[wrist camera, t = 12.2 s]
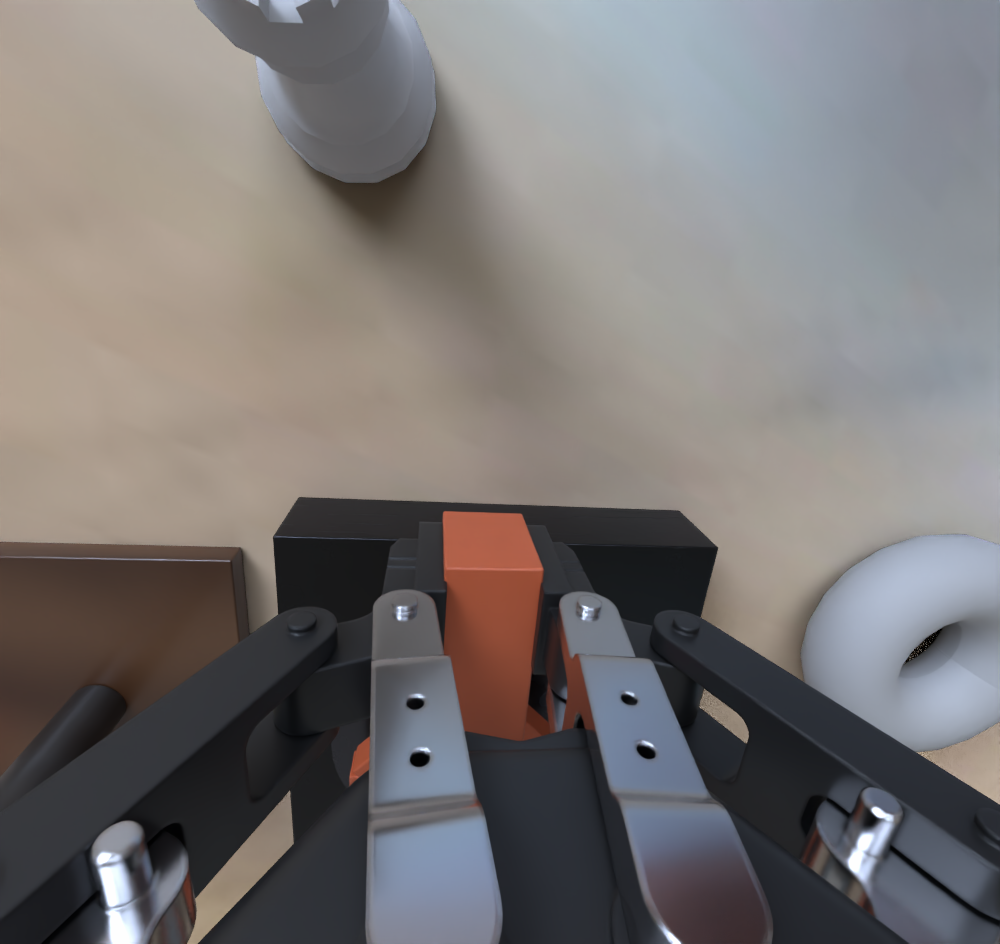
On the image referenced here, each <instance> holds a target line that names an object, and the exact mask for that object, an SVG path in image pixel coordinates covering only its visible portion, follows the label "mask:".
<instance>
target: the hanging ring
mask: <svg viewBox="0 0 1000 944" xmlns="http://www.w3.org/2000/svg"><path fill="white" fill-rule="evenodd" d="M442 522H443V562H444V581H446V582H447V602H446V619H445V635H444V654H449V655H450V658H451V662H452V667H453V673H454V678H455V684H456V689H457V694H458V700H459V705H460V710H461V716H462V721H463V727H464V731H468V732H473V733H479V734H484V735H489V736H495V737H500V738H505V739H510V740H516V741H524V740H528V739H532V738H536V737H540V736H543V735H547V734H550V728H549V722H547V721H546V720H545V719H544V718H543V717H542V716H541V715H540V714H538V713H537V712H536V711H535V710H534V709H533V708H532V707H531V706H529V705H528V700H529V692H530V683H531V675H532V668H531V660H532V652H533V644H534V635H535V627H536V619H537V611H538V602H539V594H540V586H541V583H542V582H543V576H544V569H543V566H542V564H541V561H540V559H539V556H538V553H537V551H536V548H535V546H534V543H533V541H532V538H531V536H530V533H529V531H528V528H527V526H526V523H525V521H524V518H523V516H522V514H517V513H485V512H452V511H445V512H443V521H442ZM369 752H370V737H368V738H367V739H366V740H364V741H363V742H362V743H361V744H359V745H358V747H357V751H355V752H354V755H353V760H352V766H351V771H350V777H349V786H350V785H351V784H352V783H353V782H354V781H355V780H357V779H358V778H359V777H360V776H361V775H363V774H364V773H365V772H366V771H368V770H369Z"/></svg>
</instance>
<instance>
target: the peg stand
mask: <svg viewBox="0 0 1000 944" xmlns="http://www.w3.org/2000/svg"><path fill="white" fill-rule="evenodd" d="M247 636H249V628H248V617H247V606H246V595H245V584H244V573H243V562H242V551H241V548H240V547H198V546H154V545H109V544H64V543H20V542H0V812H1V811H2V810H4V809H5V808H7V807H8V806H9V805H11V804H12V803H14V802H15V801H16V800H18V799H19V798H21V797H22V796H23V795H25V794H26V793H28V792H29V791H30V790H32V789H33V788H35V787H36V786H38V785H39V784H40V783H42V782H43V781H45V780H46V779H47V778H49V777H50V776H52V775H53V774H54V773H56V772H57V771H59V770H60V769H61V768H63V767H64V766H66V765H67V764H68V763H70V762H71V761H73V760H74V759H76V758H77V757H78V756H80V755H81V754H83V753H84V752H85V751H87V750H88V749H90V748H91V747H92V746H94V745H95V744H97V743H98V742H99V741H101V740H102V739H104V738H105V737H107V736H108V735H109V734H111V733H112V732H114V731H115V730H116V729H118V728H119V727H121V726H122V725H123V724H125V723H126V722H128V721H129V720H130V719H132V718H133V717H135V716H136V715H138V714H139V713H140V712H142V711H143V710H145V709H146V708H147V707H149V706H150V705H152V704H153V703H154V702H156V701H157V700H159V699H160V698H161V697H163V696H164V695H166V694H167V693H169V692H170V691H171V690H173V689H174V688H176V687H177V686H178V685H180V684H181V683H183V682H184V681H185V680H187V679H188V678H190V677H191V676H192V675H194V674H195V673H197V672H198V671H199V670H201V669H202V668H204V667H205V666H207V665H208V664H209V663H211V662H212V661H214V660H215V659H216V658H218V657H219V656H221V655H222V654H223V653H225V652H226V651H228V650H229V649H230V648H232V647H233V646H235V645H236V644H238V643H239V642H240V641H242V640H243V639H245V638H246V637H247Z"/></svg>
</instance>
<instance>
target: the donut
mask: <svg viewBox="0 0 1000 944" xmlns="http://www.w3.org/2000/svg"><path fill="white" fill-rule="evenodd" d="M941 628H943V629H942V630H941V632H940V633H939V635H938V636H937V638H936V639H935V641H934V642H933V643H932V644H931V645H930V646H929V647H928V648H927V649H926V650H925V651H924V652H923V653H921V654H920V655H919V656H917V657H915V658H914V659H912V660H910V661H909V662H907V663H905V664H904V662H905V661H906V660H907V658H908V657H909V655H910V654H911V652H912V651H913V650H914V649H915V648H916V647H917V646H918V645H919V644H920V643H921V642H922V641H923V640H924V639H925V638H927V637H928V636H929V635H931V634H933V633H934V632H936V631H938V630H939V629H941ZM800 654H801V662H802V670H803V678H804V682H805V683H806V684H808V685H809V686H811V687H812V688H814V689H816V690H817V691H819V692H820V693H822V694H824V695H825V696H827V697H828V698H830V699H832V700H833V701H835V702H836V703H838V704H840V705H841V706H843V707H844V708H846V709H848V710H849V711H851V712H852V713H854V714H856V715H857V716H859V717H860V718H862V719H864V720H865V721H867V722H868V723H870V724H872V725H873V726H875V727H876V728H878V729H880V730H881V731H883V732H884V733H886V734H888V735H889V736H891V737H892V738H894V739H896V740H897V741H899V742H900V743H902V744H903V745H905V746H907V747H908V748H910V749H911V750H913V751H915V752H923V751H933V750H939V749H942V748H945V747H948V746H951V745H954V744H957V743H960V742H963V741H966V740H969V739H970V738H972V737H974V736H975V735H977V734H979V733H981V732H982V731H984V730H986V729H988V728H989V727H991V726H993V725H995V724H996V723H998V722H1000V545H999V544H996V543H992V542H989V541H986V540H983V539H979V538H976V537H973V536H969V535H966V534H946V535H928V536H917V537H914V538H911V539H908V540H905V541H902V542H899V543H897V544H894V545H891V546H888V547H885V548H882V549H880V550H878V551H876V552H875V553H873V554H872V555H870V556H869V557H867V558H865V559H864V560H862V561H861V562H859V563H858V564H856V565H854V566H853V567H851V568H850V569H848V570H847V571H846V572H845V573H844V574H843V575H842V576H841V577H840V578H839V579H838V580H837V581H836V582H835V583H834V585H833V586H832V587H831V588H830V589H829V590H828V591H827V592H826V593H825V594H824V596H823V597H822V599H821V601H820V602H819V604H818V606H817V608H816V609H815V611H814V613H813V614H812V616H811V618H810V619H809V622H808V624H807V628H806V632H805V636H804V640H803V645H802V649H801V653H800Z"/></svg>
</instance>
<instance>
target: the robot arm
mask: <svg viewBox="0 0 1000 944" xmlns="http://www.w3.org/2000/svg"><path fill="white" fill-rule="evenodd" d="M526 526H527V528H528V531H529V533H530V536H531V538H532V541H533V543H534V546H535V548H536V551H537V553H538V556H539V559H540V561H541V564H542V566H543V569H544V576H543V582H542V583H541V586H540V594H539V602H538V611H537V619H536V627H535V635H534V644H533V652H532V660H531V668H532V672H533V675H547V678H548V684H547V691H546V704H547V712H548V720H549V728H550V734H547V735H543V736H540V737H536V738H532V739H528V740H524V741H516V740H510V739H505V738H500V737H495V736H489V735H484V734H479V733H473V732H468V731H464V727H463V721H462V716H461V710H460V705H459V700H458V694H457V689H456V684H455V678H454V673H453V667H452V662H451V658H450V655H449V654H444V635H445V619H446V602H447V582H446V581H444V562H443V522H419V534H418V539H408V538H399V539H398V540H397V541H396V542H395V543H394V544H393V545H392V546H391V547H390V552H389V558H388V563H387V569H386V575H385V580H384V586H383V592H382V596H380V597H379V598H378V599H377V600H376V601H375V603H374V605H373V611H372V612H371V613H369V614H368V615H366V616H363V617H361V618H358V619H355V620H351V621H346V622H341V623H337V619H336V617H335V615H334V614H333V613H331V612H330V611H328V610H326V609H323V608H320V607H299V608H294V609H290V610H287V611H285V612H283V613H281V614H279V615H277V616H276V617H274V618H273V619H271V620H270V621H269V622H267V623H266V624H264V625H263V626H261V627H260V628H259V629H257V630H256V631H254V632H253V633H252V634H250V635H249V636H247V637H246V638H245V639H243V640H242V641H240V642H239V643H238V644H236V645H235V646H233V647H232V648H230V649H229V650H228V651H226V652H225V653H223V654H222V655H221V656H219V657H218V658H216V659H215V660H214V661H212V662H211V663H209V664H208V665H207V666H205V667H204V668H202V669H201V670H199V671H198V672H197V673H195V674H194V675H192V676H191V677H190V678H188V679H187V680H185V681H184V682H183V683H181V684H180V685H178V686H177V687H176V688H174V689H173V690H171V691H170V692H169V693H167V694H166V695H164V696H163V697H161V698H160V699H159V700H157V701H156V702H154V703H153V704H152V705H150V706H149V707H147V708H146V709H145V710H143V711H142V712H140V713H139V714H138V715H136V716H135V717H133V718H132V719H130V720H129V721H128V722H126V723H125V724H123V725H122V726H121V727H119V728H118V729H116V730H115V731H114V732H112V733H111V734H109V735H108V736H107V737H105V738H104V739H102V740H101V741H99V742H98V743H97V744H95V745H94V746H92V747H91V748H90V749H88V750H87V751H85V752H84V753H83V754H81V755H80V756H78V757H77V758H76V759H74V760H73V761H71V762H70V763H68V764H67V765H66V766H64V767H63V768H61V769H60V770H59V771H57V772H56V773H54V774H53V775H52V776H50V777H49V778H47V779H46V780H45V781H43V782H42V783H40V784H39V785H38V786H36V787H35V788H33V789H32V790H30V791H29V792H28V793H26V794H25V795H23V796H22V797H21V798H19V799H18V800H16V801H15V802H14V803H12V804H11V805H9V806H8V807H7V808H5V809H4V810H2V811H1V812H0V944H187V942H188V940H189V938H190V936H191V934H192V931H193V928H194V925H195V920H196V911H197V909H196V901H195V898H196V897H197V896H198V895H199V894H200V892H201V891H202V890H203V889H204V888H205V887H206V886H207V884H208V883H209V882H210V881H211V880H212V879H213V878H214V876H215V875H216V874H217V873H218V872H219V871H220V870H221V868H222V867H223V866H224V865H225V864H226V863H227V862H228V860H229V859H230V858H231V857H232V856H233V855H234V853H235V852H236V851H237V850H238V849H239V848H240V847H241V845H242V844H243V843H244V842H245V841H246V840H247V839H248V837H249V836H250V835H251V834H252V833H253V832H254V831H255V829H256V828H257V827H258V826H259V825H260V824H261V823H262V821H263V820H264V819H265V818H266V817H267V816H268V815H269V813H270V812H271V811H272V810H273V809H274V808H275V807H276V805H277V804H278V803H279V802H280V801H281V800H282V799H283V797H284V796H285V795H286V794H287V793H288V792H289V791H290V789H291V788H292V787H293V786H294V785H295V784H296V783H297V781H298V780H299V779H300V778H301V777H302V776H303V775H304V773H305V772H306V771H307V770H308V769H309V768H310V766H311V765H312V764H313V763H314V762H315V761H316V760H317V758H318V757H319V756H320V755H321V754H322V753H323V752H324V750H325V749H326V748H327V747H328V746H329V745H330V744H331V742H332V741H333V740H334V739H335V737H336V736H337V734H338V731H339V727H340V726H344V725H347V724H351V723H354V722H358V721H361V720H365V719H368V718H370V752H369V770H368V771H366V772H365V773H364V774H363V775H361V776H360V777H359V778H358V779H357V780H355V781H354V782H353V783H352V784H351V785H350V786H349V787H348V788H347V789H346V790H345V791H344V792H343V793H342V795H341V796H340V797H339V798H338V799H337V800H336V801H335V802H334V803H333V804H332V805H331V806H330V807H329V808H328V809H327V810H326V811H325V812H324V813H323V814H322V815H321V816H320V817H319V818H318V819H317V820H316V822H315V823H314V824H313V825H312V826H311V827H310V828H309V829H308V830H307V831H306V832H305V833H304V834H303V835H302V836H301V837H300V838H299V839H298V840H297V841H296V842H295V843H294V844H293V845H292V846H291V847H290V848H289V850H288V851H287V852H286V853H285V854H284V855H283V856H282V857H281V858H280V859H279V860H278V861H277V862H276V863H275V864H274V865H273V866H272V867H271V868H270V869H269V870H268V871H267V872H266V873H265V874H264V875H263V877H262V878H261V879H260V880H259V881H258V882H257V883H256V884H255V885H254V886H253V887H252V888H251V889H250V890H249V891H248V892H247V893H246V894H245V895H244V896H243V897H242V898H241V899H240V900H239V901H238V902H237V903H236V905H235V906H234V907H233V908H232V909H231V910H230V911H229V912H228V913H227V914H226V915H225V916H224V917H223V918H222V919H221V920H220V921H219V922H218V923H217V924H216V925H215V926H214V927H213V928H212V929H211V930H210V932H209V933H208V934H207V935H206V936H205V937H204V938H203V939H202V940H201V941H200V942H199V943H198V944H1000V805H999V804H998V803H996V802H994V801H993V800H991V799H990V798H988V797H987V796H985V795H983V794H982V793H980V792H979V791H977V790H975V789H974V788H972V787H971V786H969V785H967V784H966V783H964V782H963V781H961V780H959V779H958V778H956V777H955V776H953V775H951V774H950V773H948V772H947V771H945V770H943V769H942V768H940V767H939V766H937V765H935V764H934V763H932V762H931V761H929V760H927V759H926V758H924V757H923V756H921V755H919V754H918V753H916V752H915V751H913V750H911V749H910V748H908V747H907V746H905V745H903V744H902V743H900V742H899V741H897V740H896V739H894V738H892V737H891V736H889V735H888V734H886V733H884V732H883V731H881V730H880V729H878V728H876V727H875V726H873V725H872V724H870V723H868V722H867V721H865V720H864V719H862V718H860V717H859V716H857V715H856V714H854V713H852V712H851V711H849V710H848V709H846V708H844V707H843V706H841V705H840V704H838V703H836V702H835V701H833V700H832V699H830V698H828V697H827V696H825V695H824V694H822V693H820V692H819V691H817V690H816V689H814V688H812V687H811V686H809V685H808V684H806V683H805V682H803V681H801V680H800V679H798V678H797V677H795V676H793V675H792V674H790V673H789V672H787V671H785V670H784V669H782V668H781V667H779V666H777V665H776V664H774V663H773V662H771V661H769V660H768V659H766V658H765V657H763V656H761V655H760V654H758V653H757V652H755V651H753V650H752V649H750V648H749V647H747V646H745V645H744V644H742V643H741V642H739V641H737V640H736V639H734V638H733V637H731V636H729V635H728V634H726V633H725V632H723V631H721V630H720V629H718V628H717V627H715V626H714V625H712V624H710V623H709V622H707V621H706V620H704V619H702V618H700V617H699V616H696V615H694V614H691V613H688V612H685V611H679V610H666V611H662V612H660V613H658V614H657V615H656V616H655V618H654V623H653V626H651V625H646V624H641V623H637V622H632V621H628V620H625V619H622V618H621V617H620V615H619V612H618V609H617V608H616V606H615V605H614V604H613V603H612V602H611V601H610V600H608V599H607V598H605V597H603V596H601V595H598V594H595V592H594V590H593V588H592V586H591V584H590V582H589V580H588V578H587V576H586V574H585V572H583V568H582V566H581V564H580V563H579V560H578V558H577V556H576V554H575V552H574V551H573V550H572V549H570V548H569V547H568V546H567V545H565V544H564V543H563V542H552V540H551V538H550V535H549V533H548V531H547V528H546V526H544V525H526ZM704 689H706V690H707V691H708V692H710V693H711V694H712V695H714V696H715V697H716V698H718V699H719V700H721V701H722V702H723V703H725V704H726V705H727V706H729V707H730V708H731V709H733V710H734V711H735V712H737V713H738V714H739V715H740V716H741V717H742V719H743V720H744V722H745V723H746V725H747V728H748V731H749V739H748V742H747V744H746V743H744V742H743V741H742V740H740V739H739V738H738V737H737V736H735V735H734V734H733V733H731V732H730V731H729V730H728V729H726V728H725V727H724V726H723V725H721V724H720V723H719V722H717V721H716V720H715V719H714V718H712V717H711V716H710V715H708V714H707V713H706V712H705V711H703V710H702V709H701V708H700V707H699V705H700V701H701V698H702V694H703V690H704Z"/></svg>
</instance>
